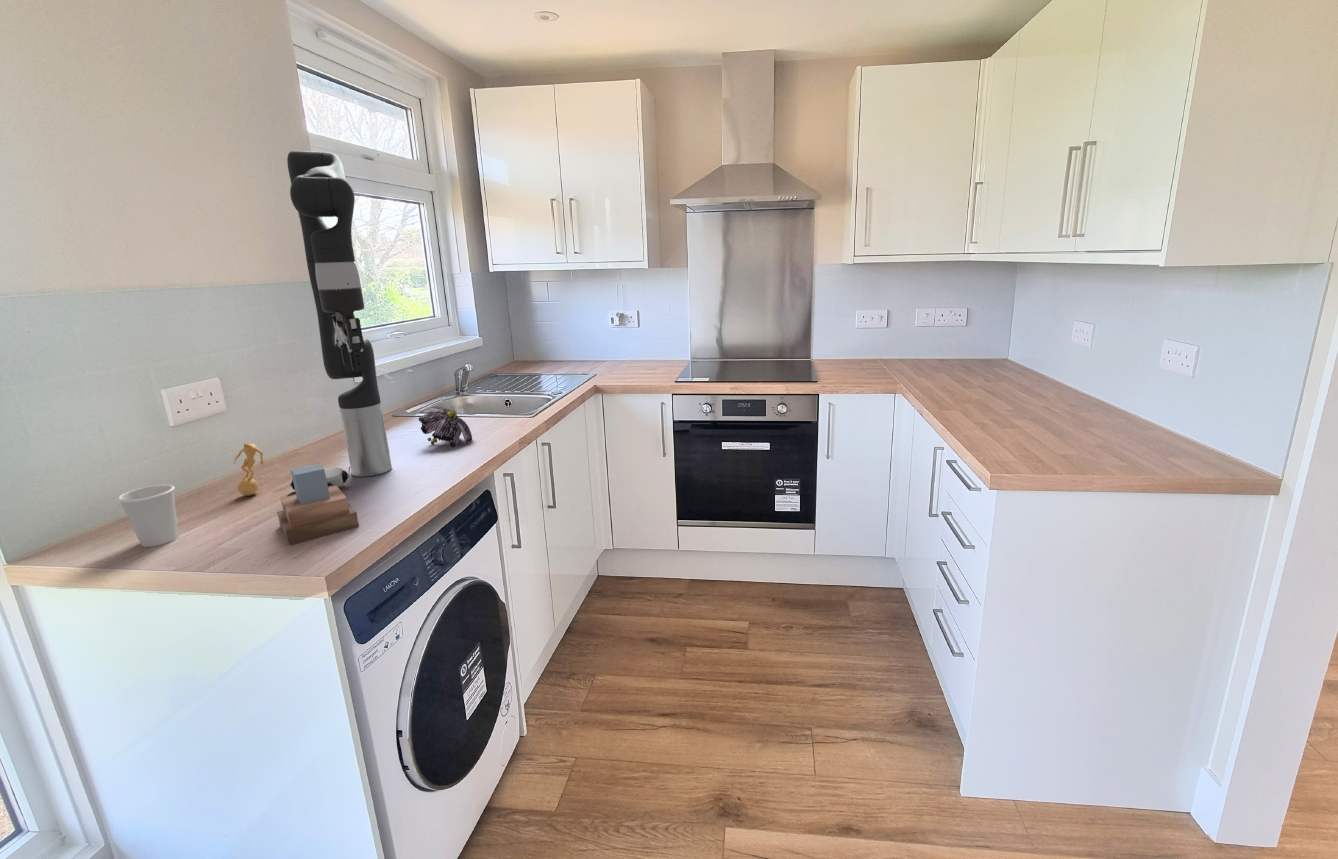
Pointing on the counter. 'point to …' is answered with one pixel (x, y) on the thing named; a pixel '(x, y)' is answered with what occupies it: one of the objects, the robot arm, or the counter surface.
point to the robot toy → (331, 477)
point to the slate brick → (310, 483)
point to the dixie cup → (152, 514)
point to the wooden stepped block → (316, 517)
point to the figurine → (249, 484)
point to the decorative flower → (444, 426)
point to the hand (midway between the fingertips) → (354, 368)
